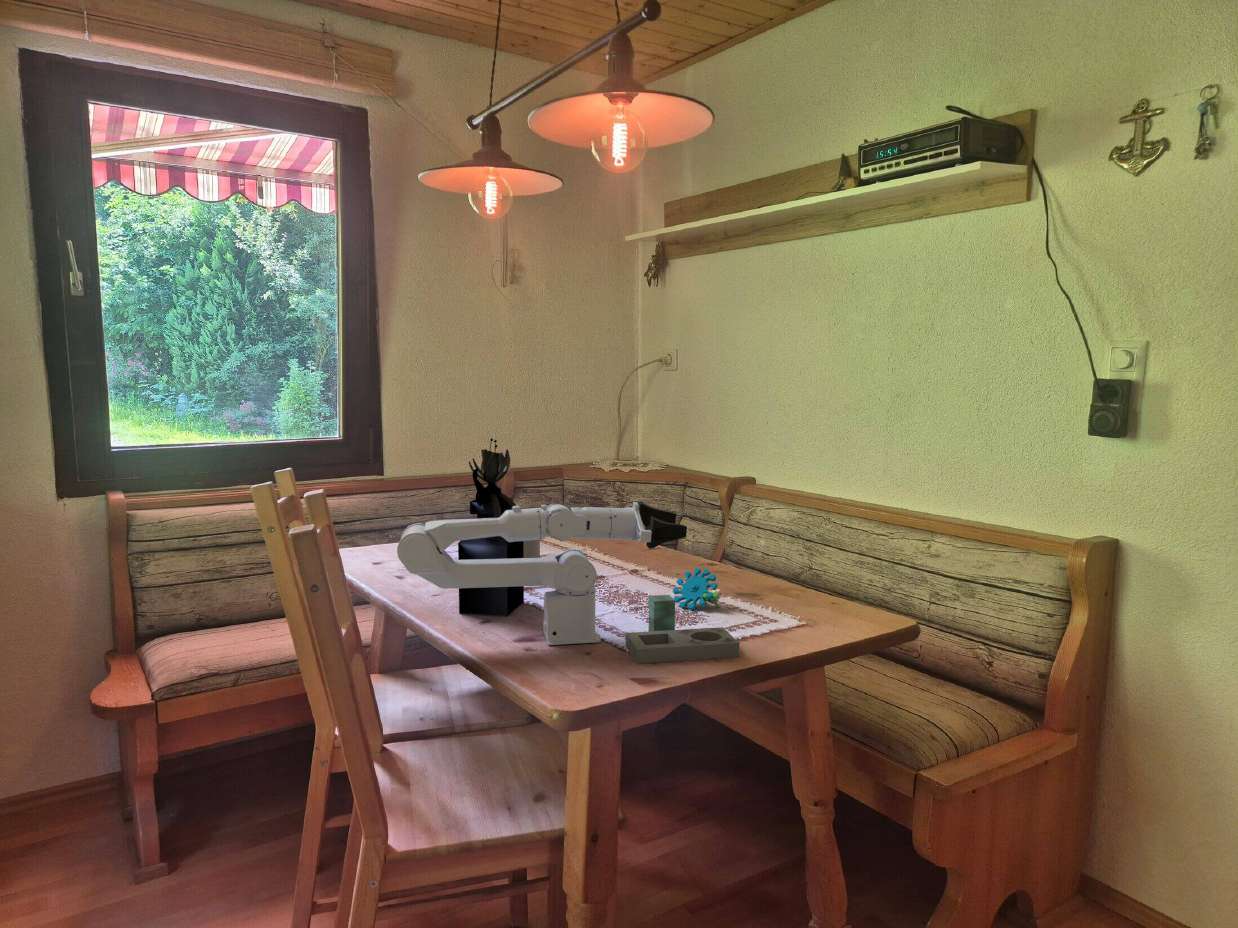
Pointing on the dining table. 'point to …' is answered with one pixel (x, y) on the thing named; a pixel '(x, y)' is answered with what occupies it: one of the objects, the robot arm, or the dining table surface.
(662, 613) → the square peg
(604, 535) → the robot arm
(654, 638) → the hole plate
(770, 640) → the dining table surface
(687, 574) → the gear
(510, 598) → the vase
